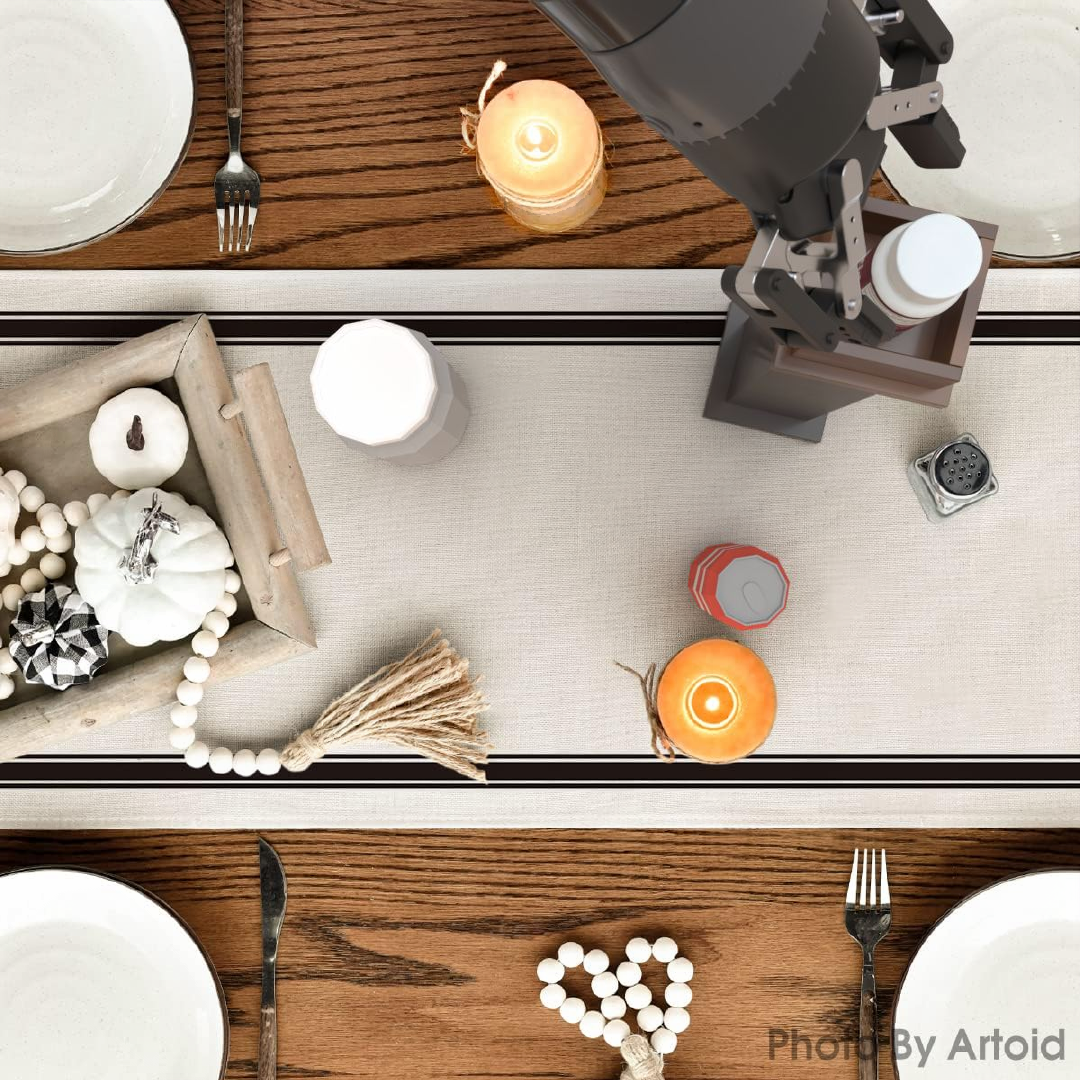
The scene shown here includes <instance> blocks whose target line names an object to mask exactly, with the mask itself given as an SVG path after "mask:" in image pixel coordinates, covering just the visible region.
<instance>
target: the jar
mask: <svg viewBox="0 0 1080 1080" xmlns="http://www.w3.org/2000/svg"><path fill="white" fill-rule="evenodd" d="M309 381H310V387H311V391H312V396H313V400H314V405H315V406H314V407H315V410H316V411H317V413H318V414H319V415H320V416H321V417H322V418H323V419H324V423H326V424H327V425H328V427H330V429H331V430H332V431H333V432H334V433H335V434H336V435H337V437H338V438H339V439H340V440H341V441H342V443H343V444H345V446H346V447H347V448H348V449H351V450H354V451H357V452H360V453H363V454H365V455H369V456H371V457H374V458H378V459H380V460H384V461H387V462H391V463H393V464H397V465H401V466H404V467H407V468H413V467H414V468H415V467H418V466H423V465H424V466H425V465H428V464H434V463H438V462H440V461H441V460H442V459H444V457H446V456H448V454H450V453H451V451H453V450H454V449H455V448H456V447H457V446H458V445H459V444H461V442H462V440H463V437H464V435H465V432H466V429H467V426H468V423H469V420H470V417H471V413H472V412H471V407H470V402H469V397H468V391H467V387H466V384H465V382H464V380H463V379H462V378H461V377H460V375H459V374H458V373H457V372H456V370H455V369H454V368H453V367H452V365H451V363H449V361H448V360H447V358H445V357H444V356H443V354H442V353H441V352H440V351H439V349H438V348H437V347H436V346H435V345H434V344H433V342H431V340H430V339H429V338H428V336H426V335H425V334H424V333H423V332H421V331H417V330H415V329H411V328H408V327H406V326H403V325H399V324H396V323H394V322H390V321H389V322H388V321H386V320H383V319H380V318H377V317H376V318H375V317H374V318H370V319H364V320H360V321H356V322H351V323H346V324H343V325H342V326H341V327H340V328H339V329H338V330H337V331H335V333H333V334H332V335H331V336H329V338H328V339H327V340H325V341H324V342H322V344H321V345H319V348H318V351H317V355H316V358H315V360H314V363H313V366H312V368H311V372H310V376H309Z"/></svg>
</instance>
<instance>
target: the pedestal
mask: <svg viewBox="0 0 1080 1080" xmlns="http://www.w3.org/2000/svg"><path fill="white" fill-rule="evenodd" d="M775 344H776V341H775V340H774V339H773V338H772V337H771V336H770V335H769V334H768V333H766V332H765V331H764V330H763V329H762V328H761V327H760V326H759V325H758V324H757V323H756V322H755V321H753V320H752V319H751V318H750V317H749V316H748V315H747V314H746V313H745V312H744V311H743V310H742V309H740V308H739V307H738V306H737V305H736V304H735V303H734V302H733V301H732V300H731V299H730V301H729V304H728V308H727V311H726V316H725V320H724V323H723V328H722V333H721V337H720V341H719V344H718V349H717V353H716V357H715V362H714V365H713V370H712V373H711V379H710V383H709V386H708V391H707V395H706V399H705V403H704V407H703V412H702V416H701V417H702V418H703V419H708V420H712V421H716V422H720V423H724V424H729V425H732V426H738V427H741V428H746V429H750V430H751V429H752V430H755V431H760V432H764V433H768V434H772V435H776V436H781V437H786V438H790V439H794V440H798V441H802V442H807V443H811V444H815V445H817V444H821V442H822V438H823V436H824V435H823V434H824V430H825V426H826V422H827V417H828V414H829V413H832V412H834V411H837V410H839V409H842V408H845V407H848V406H850V405H853V404H855V403H857V402H861V401H864V400H866V399H867V398H870V397H871V398H872V397H874V396H876V395H877V394H873V393H869V392H864V391H860V390H856V389H851V388H847V387H843V386H838V385H834V384H830V383H825V382H821V381H817V380H812V379H808V378H804V377H799V376H795V375H791V374H786V373H782V372H778V371H773V370H770V365H771V361H772V357H773V352H774V348H775Z"/></svg>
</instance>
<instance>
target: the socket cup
mask: <svg viewBox="0 0 1080 1080" xmlns="http://www.w3.org/2000/svg"><path fill="white" fill-rule="evenodd" d="M936 213H942V212H941V211H936V210H932V209H928V208H923V207H919V206H914V205H909V204H906V203H900V202H896V201H892V200H888V199H883V198H879V197H874V196H870V195H868V197H867V200H866V203H865V205H864V208H863V211H862V213H861V216H862V224H863V232H864V239H865V247H866V253H867V252H868V251H869V250H870V249H871V248H872V247H873V246H875V245H876V244H877V243H878V242H879V241H880V240H881V239H883V237H884V236H886V235H887V234H889V233H890V232H891V231H892V230H894V229H895V228H897V227H899V226H901V225H904V224H906V223H909V222H913V221H916V220H918V219H920V218H922V217H924V216H927V215H930V214H936ZM956 216H957V217H959V218H961V219H963V220H964V221H966V222H967V223H968V224H969V225H970V226H971V227H972V228H973V229H974V231H975V232H976V234H977V235H978V238H979V240H980V242H981V246H982V264H981V267H980V270H979V273H978V275H977V277H976V278H975V280H974V281H973V283H972V284H971V285H970V286H969V287H968V288H967V289H965V290H964V291H963V293H962V294H961V296H960V297H959V299H958V300H957V301H956V302H955V303H954V304H953V305H952V306H951V307H949V308H948V309H947V310H945V311H944V312H942V313H941V314H939V315H936V316H934V317H932V318H931V319H929V320H927V321H925V322H923V323H921V324H919V325H918V326H915V327H913V328H911V329H909V330H908V331H906V332H904V333H902V334H900V335H897V336H894V337H892V340H891V341H883V340H880V342H879V344H878V346H866V345H859V344H852V343H845V342H843V341H842V340H841V339H840V340H839V343H838V346H837V347H836V349H835V350H834V351H833V352H831V353H827V352H820V351H813V350H806V349H800V348H793V347H786V346H781V345H779V344H778V343H777V342H776V344H775V348H774V352H773V357H772V361H771V365H770V370H773V371H778V372H782V373H786V374H791V375H795V376H799V377H804V378H808V379H812V380H817V381H821V382H825V383H830V384H834V385H838V386H843V387H847V388H851V389H856V390H860V391H864V392H869V393H873V394H876V395H879V396H881V397H887V398H891V399H895V400H900V401H904V402H909V403H913V404H917V405H922V406H926V407H930V408H934V409H939V410H942V409H946V408H948V407H949V404H950V401H951V397H952V393H953V392H952V391H953V389H954V385H955V384H958V383H960V382H961V380H962V375H963V372H964V367H965V364H966V361H967V360H966V359H967V356H968V353H969V349H970V344H971V340H972V336H973V332H974V329H975V325H976V320H977V317H978V313H979V308H980V304H981V301H982V296H983V292H984V289H985V284H986V280H987V276H988V272H989V268H990V263H991V261H992V255H993V252H994V248H995V244H996V240H997V236H998V232H999V227H1000V226H999V225H997V224H993V223H989V222H984V221H980V220H975V219H972V218H967V217H962V216H958V215H956ZM808 239H809V240H810V241H813V242H822V243H836V240H835V234H834V230H833V231H830V232H827V233H823V234H820V235H817V236H813V237H810V238H808ZM820 278H821V285H822V288H829V289H834V288H833V282H832V278H831V276H830V275H829V274H827V273H824V272H820Z"/></svg>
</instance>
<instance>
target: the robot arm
mask: <svg viewBox="0 0 1080 1080" xmlns="http://www.w3.org/2000/svg"><path fill="white" fill-rule="evenodd" d="M526 1H527V2H528V3H530V5H532V6H533V8H535V9H536V10H537V11H538V12H539V13H540V14H541V15H542V16H543V17H544V18H545V19H546V20H548V22H550V23H551V24H552V26H554V27H555V28H556V29H557V30H558V31H559V32H561V33H562V34H563V35H564V36H565V37H566V38H567V39H568V40H569V41H571V42H572V43H573V44H574V45H575V46H576V48H577V49H578V50H579V51H580V52H581V53H582V54H583V55H584V56H585V57H586V59H587V60H588V61H589V62H590V64H591V65H592V66H593V68H594V69H595V70H596V72H597V73H598V75H600V77H601V78H602V80H603V81H604V82H605V83H606V85H608V87H609V88H610V89H611V90H612V91H613V92H614V93H615V94H616V96H618V97H619V98H620V99H621V100H622V101H623V102H624V103H625V104H626V105H627V106H628V107H630V108H631V110H633V111H634V112H635V113H636V114H637V115H638V116H639V117H640V119H642V121H643V122H644V123H645V124H646V125H647V127H649V128H650V129H651V130H653V131H654V132H655V133H657V134H659V135H660V136H661V137H662V138H663V139H665V141H667V142H668V143H669V145H671V147H673V148H674V149H675V150H676V151H677V152H679V153H680V154H681V155H682V156H683V158H685V159H686V160H687V161H689V162H690V163H691V164H692V165H693V166H694V167H695V168H696V169H697V170H698V171H699V172H700V173H702V175H704V176H705V177H706V178H707V179H708V180H709V181H710V182H711V183H712V184H713V185H714V186H716V187H717V188H718V189H720V190H721V191H722V192H724V193H725V194H727V195H728V196H730V197H731V198H733V199H735V200H737V201H738V202H740V203H741V204H742V205H743V206H744V207H745V208H746V210H747V211H748V213H749V216H750V219H751V223H752V225H753V228H754V230H755V232H756V237H755V239H754V240H753V241H754V242H753V244H752V246H751V248H750V249H749V250H750V251H749V253H748V255H747V258H746V260H745V262H744V264H743V265H738V264H737V265H736V264H729V265H728V266H726V267H725V269H724V270H723V271H722V274H721V276H720V288H721V291H722V293H723V294H724V295H725V296H726V297H727V298H728V299H730V301H731V300H732V301H733V302H734V303H735V304H736V305H737V306H738V307H739V308H740V309H742V310H743V311H744V312H745V313H746V314H747V315H748V316H749V317H750V318H751V319H752V320H753V321H755V322H756V323H757V324H758V325H759V326H760V327H761V328H762V329H763V330H764V331H765V332H766V333H768V334H769V335H770V336H771V337H772V338H773V339H774V340H775V341H776V342H777V343H778V344H779V345H781V346H786V347H793V348H800V349H806V350H813V351H820V352H827V353H831V352H833V351H834V350H835V349H836V347H837V346H838V343H839V340H840V339H841V340H842V341H843V342H845V343H852V344H859V345H866V346H878V344H879V342H880V340H883V341H891V340H892V337H893V335H894V332H895V330H896V327H897V325H896V324H895V323H894V322H893V321H892V320H891V319H890V318H889V317H888V316H887V315H886V314H885V313H884V312H883V311H882V310H881V309H880V308H879V307H878V306H877V305H876V304H875V303H874V302H873V301H872V300H871V299H870V298H869V297H867V296H866V295H862V294H861V288H860V281H859V273H858V263H859V262H861V261H862V260H863V259H864V258H865V256H866V247H865V239H864V232H863V224H862V216H861V213H862V211H863V208H864V205H865V203H866V200H867V197H868V196H869V192H870V188H871V184H872V180H873V178H874V176H875V175H876V173H877V171H878V169H879V168H880V166H881V165H882V162H883V160H884V156H885V154H886V152H887V149H888V147H889V146H888V144H886V142H885V140H886V133H887V129H888V130H889V132H890V133H891V135H892V136H893V137H894V139H896V141H897V142H898V143H899V145H900V146H901V147H902V149H903V151H905V153H906V154H907V155H908V157H909V158H910V159H911V160H912V162H913V163H914V164H915V166H916V167H918V168H921V169H925V170H948V169H949V170H956V169H959V168H961V166H962V163H963V160H964V158H965V156H966V153H967V149H966V147H965V146H964V144H963V143H962V141H961V135H960V130H959V127H958V125H957V124H956V122H955V121H954V119H953V118H952V116H951V115H950V113H949V112H948V111H947V109H946V108H945V106H944V105H943V104H944V103H943V101H944V87H943V84H942V82H941V81H940V80H937V77H938V73H939V68H940V65H946V64H948V63H949V62H950V60H951V59H952V56H953V53H954V48H955V47H954V46H955V42H954V37H953V35H952V33H951V32H950V30H949V28H948V27H947V26H946V24H945V23H944V21H943V20H942V19H941V18H940V16H939V14H938V13H937V11H936V10H935V9H934V7H933V6H932V4H931V3H930V2H929V0H526ZM881 59H882V60H883V62H884V63H885V64H886V65H887V66H888V68H889V69H891V70H893V72H892V76H891V80H890V81H891V82H890V85H889V84H887V85H882V81H881ZM833 230H834V234H835V240H836V243H822V242H813V241H810V240H809V239H808V238H810V237H813V236H817V235H820V234H823V233H827V232H830V231H833ZM820 272H824V273H827V274H829V275H830V276H831V278H832V282H833V288H834V289H829V288H822V285H821V278H820Z"/></svg>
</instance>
